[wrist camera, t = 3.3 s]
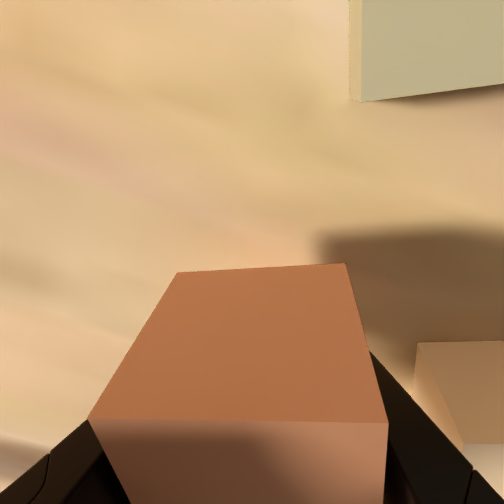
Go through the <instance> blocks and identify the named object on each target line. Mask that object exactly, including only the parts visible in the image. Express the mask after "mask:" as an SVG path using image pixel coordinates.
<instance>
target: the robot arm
mask: <svg viewBox="0 0 504 504" xmlns="http://www.w3.org/2000/svg"><path fill="white" fill-rule="evenodd" d="M369 353H370V357H371V360H372V364H373V368H374V371H375V375H376V379H377V382H378V386H379V390H380V393H381V397H382V401H383V404H384V408H385V412H386V415H387V419H388V423H389V425H388V439H387V452H386V466H385V480H384V493H383V504H504V499H503V498H502V497H501V496H500V495H499V494H498V493H497V492H496V491H495V490H494V489H493V488H492V486H491V485H490V484H489V483H488V482H487V481H486V480H485V479H484V477H483V476H482V475H481V474H480V473H479V472H478V471H477V470H473V465H472V464H471V463H470V462H469V461H468V460H467V459H466V458H465V456H464V455H463V454H462V453H461V452H460V451H459V450H458V449H457V448H456V446H455V445H454V444H453V443H452V442H451V441H450V440H449V439H448V437H447V436H446V435H445V434H444V433H443V432H442V431H441V430H440V429H439V427H438V426H437V425H436V424H435V423H434V422H433V421H432V420H431V419H430V417H429V416H428V415H427V414H426V413H425V412H424V411H423V410H422V409H421V407H420V406H419V405H418V404H417V403H416V402H415V401H414V400H413V398H412V397H411V396H410V395H409V394H408V393H407V392H406V391H405V390H404V388H403V387H402V386H401V385H400V384H399V383H398V382H397V381H396V380H395V378H394V377H393V376H392V375H391V374H390V373H389V372H388V371H387V370H386V368H385V367H384V366H383V365H382V364H381V363H380V362H379V361H378V360H377V358H376V357H375V356H374V355H373V354H372V353H371V352H370V351H369ZM0 504H131V502H130V500H129V498H128V496H127V494H126V493H125V491H124V489H123V487H122V485H121V483H120V481H119V479H118V477H117V475H116V473H115V471H114V469H113V467H112V465H111V463H110V461H109V460H108V458H107V456H106V454H105V452H104V450H103V448H102V446H101V444H100V442H99V440H98V438H97V436H96V434H95V432H94V430H93V428H92V427H91V425H90V423H89V421H88V419H87V420H86V421H84V422H83V423H82V424H81V425H80V426H79V427H77V428H76V429H75V430H74V431H73V432H72V433H71V434H69V435H68V436H67V437H66V438H65V439H64V440H62V441H61V442H60V443H59V444H58V445H57V446H55V447H54V448H53V449H52V450H51V451H50V454H49V453H48V454H46V455H45V456H44V457H43V458H41V459H40V460H39V461H38V462H37V463H36V464H35V465H33V466H32V467H31V468H30V469H29V470H27V471H26V472H25V473H24V474H23V475H21V476H20V477H19V478H18V479H17V480H15V481H14V482H13V483H12V484H11V485H10V486H8V487H7V488H6V489H5V490H3V491H2V492H1V493H0Z"/></svg>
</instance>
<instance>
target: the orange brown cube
mask: <svg viewBox="0 0 504 504" xmlns="http://www.w3.org/2000/svg"><path fill="white" fill-rule="evenodd" d="M87 419H88V421H89V423H90V425H91V427H92V428H93V430H94V432H95V434H96V436H97V438H98V440H99V442H100V444H101V446H102V448H103V450H104V452H105V454H106V456H107V458H108V460H109V461H110V463H111V465H112V467H113V469H114V471H115V473H116V475H117V477H118V479H119V481H120V483H121V485H122V487H123V489H124V491H125V493H126V494H127V496H128V498H129V500H130V502H131V504H383V493H384V480H385V466H386V452H387V439H388V425H389V423H388V419H387V415H386V412H385V408H384V404H383V401H382V397H381V393H380V390H379V386H378V382H377V379H376V375H375V371H374V368H373V364H372V360H371V357H370V353H369V349H368V346H367V342H366V338H365V335H364V331H363V327H362V323H361V320H360V316H359V312H358V309H357V305H356V301H355V298H354V294H353V290H352V287H351V283H350V279H349V276H348V272H347V268H346V265H345V263H336V264H319V265H302V266H284V267H267V268H249V269H232V270H215V271H197V272H180V273H177V274H176V275H175V277H174V279H173V280H172V282H171V283H170V285H169V287H168V288H167V290H166V292H165V293H164V295H163V296H162V298H161V300H160V301H159V303H158V304H157V306H156V308H155V309H154V311H153V312H152V314H151V316H150V317H149V319H148V321H147V322H146V324H145V325H144V327H143V329H142V330H141V332H140V333H139V335H138V337H137V338H136V340H135V341H134V343H133V345H132V346H131V348H130V350H129V351H128V353H127V354H126V356H125V358H124V359H123V361H122V362H121V364H120V366H119V367H118V369H117V370H116V372H115V374H114V375H113V377H112V379H111V380H110V382H109V383H108V385H107V387H106V388H105V390H104V391H103V393H102V395H101V396H100V398H99V399H98V401H97V403H96V404H95V406H94V408H93V409H92V411H91V412H90V414H89V416H88V417H87Z"/></svg>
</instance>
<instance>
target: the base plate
mask: <svg viewBox="0 0 504 504" xmlns="http://www.w3.org/2000/svg"><path fill="white" fill-rule="evenodd" d="M349 28H350V99H352V100H355V101H358V102H368V101H375V100H383V99H390V98H398V97H405V96H413V95H420V94H428V93H435V92H443V91H451V90H458V89H466V88H473V87H481V86H488V85H496V84H503V83H504V0H349Z"/></svg>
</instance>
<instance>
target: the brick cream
mask: <svg viewBox="0 0 504 504" xmlns="http://www.w3.org/2000/svg"><path fill="white" fill-rule="evenodd" d="M412 398H413V400H414V401H415V402H416V403H417V404H418V405H419V406H420V407H421V409H422V410H423V411H424V412H425V413H426V414H427V415H428V416H429V417H430V419H431V420H432V421H433V422H434V423H435V424H436V425H437V426H438V427H439V429H440V430H441V431H442V432H443V433H444V434H445V435H446V436H447V437H448V439H449V440H450V441H451V442H452V443H453V444H454V445H455V446H456V448H457V449H458V450H459V451H460V452H461V453H462V454H463V455H464V456H465V458H466V459H467V460H468V461H469V462H470V463H471V464H472V465H473V470H477V471H478V472H479V473H480V474H481V475H482V476H483V477H484V479H485V480H486V481H487V482H488V483H489V484H490V485H491V486H492V488H493V489H494V490H495V491H496V492H497V493H498V494H499V495H500V496H501V497H502V498H503V499H504V341H464V342H420V343H417V352H416V361H415V371H414V380H413V389H412Z"/></svg>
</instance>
